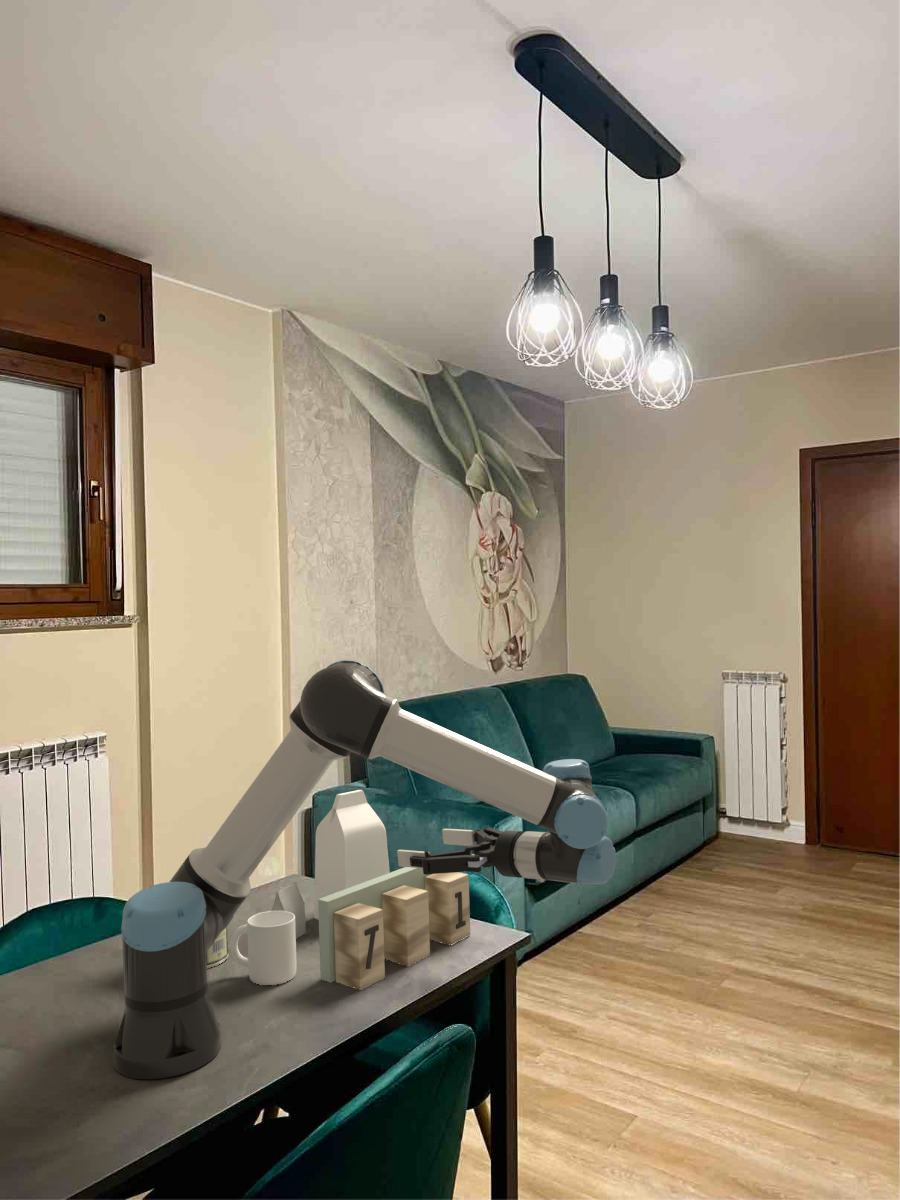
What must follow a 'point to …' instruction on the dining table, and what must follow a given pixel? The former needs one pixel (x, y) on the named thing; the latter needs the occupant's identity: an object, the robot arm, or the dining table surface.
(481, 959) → the dining table surface
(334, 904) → the rack board
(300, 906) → the white juice carton
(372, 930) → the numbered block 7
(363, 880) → the milk
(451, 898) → the numbered block 1
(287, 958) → the mug
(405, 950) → the plain block
